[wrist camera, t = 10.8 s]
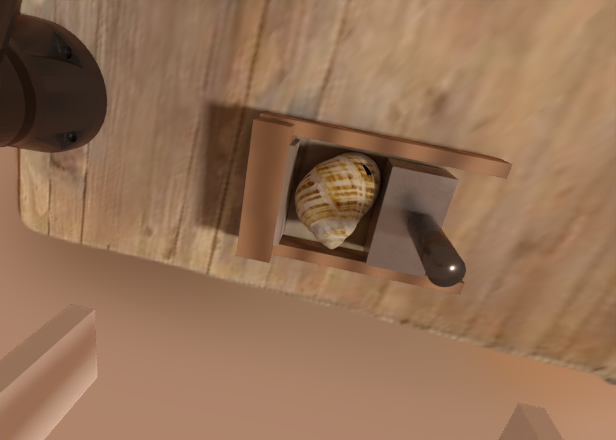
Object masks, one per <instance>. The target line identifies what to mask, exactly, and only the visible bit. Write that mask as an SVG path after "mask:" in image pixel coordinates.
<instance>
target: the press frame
mask: <svg viewBox="0 0 616 440" xmlns="http://www.w3.org/2000/svg"><path fill="white" fill-rule="evenodd" d="M296 136H300V137H305V138H310V139H315V140H320V141H325V142H330V143H335V144H339V145H344V146H349V147H354V148H359V149H364V150H369V151H374V152H379V153H383V154H388V155H393V156H398V157H403V158H408V159H413V160H418V161H423V162H427V163H432V164H437V165H442V166H447V167H452V168H457V169H462V170H467V171H471V172H476V173H481V174H486V175H491V176H496V177H501V178H506V179H507V177H508V174H509V172H510V169H511V167H512V164H510V163H508V162H506V161H504V160H502V159H497V158H492V157H488V156H483V155H478V154H473V153H468V152H463V151H458V150H453V149H448V148H443V147H438V146H433V145H428V144H424V143H419V142H414V141H409V140H404V139H399V138H394V137H389V136H384V135H379V134H374V133H369V132H364V131H359V130H355V129H350V128H345V127H340V126H335V125H330V124H325V123H320V122H315V121H310V120H305V119H300V118H295V117H291V116H286V115H281V114H276V113H271V112H263V113H260V117H259V118H256V119H253V126H252V134H251V142H250V150H249V158H248V166H247V174H246V182H245V190H244V198H243V206H242V214H241V222H240V230H239V238H238V246H237V254H236V256H240V257H244V258H249V259H254V260H258V261H263V262H268V263H269V262H270V259H271V257H272V255H277V256H282V257H287V258H291V259H296V260H301V261H305V262H310V263H315V264H319V265H324V266H329V267H334V268H338V269H343V270H348V271H352V272H357V273H362V274H366V275H371V276H376V277H380V278H385V279H390V280H394V281H399V282H404V283H408V284H413V285H418V286H422V287H427V288H432V289H437V290H441V291H446V292H451V293H455V294H460V293H461V291H462V288H463V286H464V282H463V281H462V280H461V281H460V282H459V283H457V284H456V285H453V286H450V287H439V286H436V285H434V284H433V283H432V282H431V281H430V280H429V279H428V276H427V274H426V273H425V276H424V277H420V276H416V275H411V274H406V273H402V272H397V271H392V270H387V269H383V268H378V267H373V266H369V265H366V264H365V255H364V252H361V251H356V250H352V249H347V248H342V247H336V248H334V249H329V248H328V247H326V246H324V245H323V244H322V243H319V242H314V241H309V240H304V239H300V238H295V237H290V236H286V235H283V232H284V230H285V224H286V218H287V213H288V207H289V201H290V196H291V190H292V184H293V178H294V173H295V167H296V161H297V156H298V150H299V144H300V140H299V139H296Z"/></svg>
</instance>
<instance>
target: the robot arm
mask: <svg viewBox="0 0 616 440" xmlns="http://www.w3.org/2000/svg"><path fill="white" fill-rule="evenodd" d="M21 3H22V0H0V147H5V146H10V147H16V148H21V149H27V150H33V151H39V152H48V153H53V152H62V151H67V150H71V149H75V148H78V147H81V146H83V145H85V144H87V143H88V142H89V141H91V140H92V139H93V138H94V137H95V136H96V134H97V133H98V132H99V130H100V128H101V126H102V124H103V122H104V118H105V114H106V107H107V95H106V88H105V84H104V80H103V77H102V74H101V71H100V69H99V67H98V65H97V63H96V61H95V59H94V58H93V56H92V55H91V53H90V52H89V50H88V49H87V48H86V46H85V45H84V44H83V43H82V42H81V41H80V40H79V39H78V38H77V37H76V36H75V35H73V34H72V33H71V32H70V31H68V30H67V29H65V28H64V27H62V26H60V25H58V24H56V23H54V22H51V21H48V20H45V19H41V18H36V17H31V16H26V15H18V12H19V9H20V6H21ZM96 378H97V353H96V331H95V310H94V309H91V308H87V307H82V306H77V305H73V304H70V305H69V306H68V307H66V308H65V309H64V310H62V311H61V312H60V313H59V314H58V315H56V316H55V317H54V318H52V319H51V320H50V321H49V322H47V323H46V324H45V325H44V326H42V327H41V328H40V329H39V330H37V331H36V332H35V333H33V334H32V335H31V336H30V337H29V338H27V339H26V340H25V341H23V342H22V343H21V344H20V345H18V346H17V347H16V348H15V349H13V350H12V351H11V352H9V353H8V354H7V355H6V356H4V357H3V358H2V359H1V360H0V440H44V439H45V438H46V437H47V435H48V434H49V433H50V432H51V431H52V430H53V428H54V427H55V426H56V425H57V424H58V422H59V421H60V420H61V419H62V418H63V417H64V416H65V414H66V413H67V412H68V411H69V410H70V409H71V407H72V406H73V405H74V404H75V403H76V401H77V400H78V399H79V398H80V397H81V396H82V394H83V393H84V392H85V391H86V390H87V389H88V387H89V386H90V385H91V384H92V383H93V382H94V380H95V379H96ZM499 440H564V439H563V438H562V436H561V435H560V433H559V432H558V430H557V428H556V427H555V425H554V423H553V422H552V420H551V418H550V417H549V415H548V414H547V412H546V410H545V409H544V408H540V407H535V406H531V405H526V404H521V403H519V404H518V405H517V407H516V409H515V411H514V413H513V414H512V416H511V418H510V420H509V422H508V424H507V425H506V427H505V429H504V431H503V433H502V435H501V436H500V438H499Z"/></svg>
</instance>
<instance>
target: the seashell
mask: <svg viewBox="0 0 616 440" xmlns="http://www.w3.org/2000/svg"><path fill="white" fill-rule="evenodd" d="M364 164H365V165H366V166H367V167H368V169H369V170H370V171H371V173H372V175H368V176H367V173H366V171H365V170H364V168H363V166H362V165H364ZM380 186H381V175H380V171H379V168H378V166H377V164H376V163H375V162H374V161H373V160H372V159H371V158H370V157H368V156H366V155H364V154H362V153H358V152H346V153H343V154H341V155H337V156H335V157H334V158H332V159H329V160H327V161H324V162H322V163H320V164H318V165H316V166H315V167H314V168H313V169H312V170H311V171H310V172H309V173H308V174H307V175H306V176H305V177H304V178H303V179H302V181H301V182H300V183H299V185H298V187H297V189H296V193H295V208H296V212H297V215H298V217H299V219H300V221H301V222H302V223H303V224H304V225H305V226H306V227H307V228H308V229H309V230H310V232H312V233H313V234H314V236H315V237H316V239H317V240H319V241H320V242H321V243H322V244H323V245H324V246H326V247H328V248H329V249H334V248H336V247H338V246H339V245H341V244H342V243H343V241H344V240H345V238H346V237H348V236H349V235H350V234H351V233H352V232H353V231H354V230H355V228H356V226H357V223H358V222H359V221H360V219H361V218H362V217H363V215H364V214H366V213H367V212H368V211H369V209H370V208H371V207H372V205H373V203H374V202H375V200H376V198H377V196H378V194H379V191H380Z"/></svg>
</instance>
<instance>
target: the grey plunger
mask: <svg viewBox="0 0 616 440" xmlns="http://www.w3.org/2000/svg"><path fill="white" fill-rule="evenodd" d="M457 182H458V179H457V178H455V177H454V176H453V175H452V174H451V173H449V172H448V171H447V170H446V169H441V168H436V167H431V166H426V165H421V164H416V163H411V162H407V161H402V160H397V159H392V158H388V159H387V162H386V166H385V170H384V173H383V177H382V181H381V186H380V191H379V194H378V196H377V199H376V203H375V207H374V210H373V214H372V218H371V221H370V225H369V229H368V233H367V236H366V240H365V244H364V255H365V264H366V265H369V266H373V267H378V268H383V269H387V270H392V271H397V272H402V273H406V274H411V275H416V276H420V277H424V276H425V273H426V274H427V276H428V279H429V280H430V281H431V282H432V283H433V284H434V285H436V286H439V287H450V286H453V285H456V284H457V283H459V282H460V281H461V280H462V279H463V277H464V275H465V272H466V267H465V264H464V262H463V260H462V259H461V257H460V256H459V254H458V253H457V251H456V250H455V248H454V247H453V245H452V244H451V242H450V241H449V239H448V238H447V236H446V235H445V234H444V232H443V231H442V229H441V228H442V225H443V222H444V219H445V216H446V214H447V211H448V208H449V205H450V202H451V199H452V196H453V194H454V191H455V188H456V185H457Z"/></svg>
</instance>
